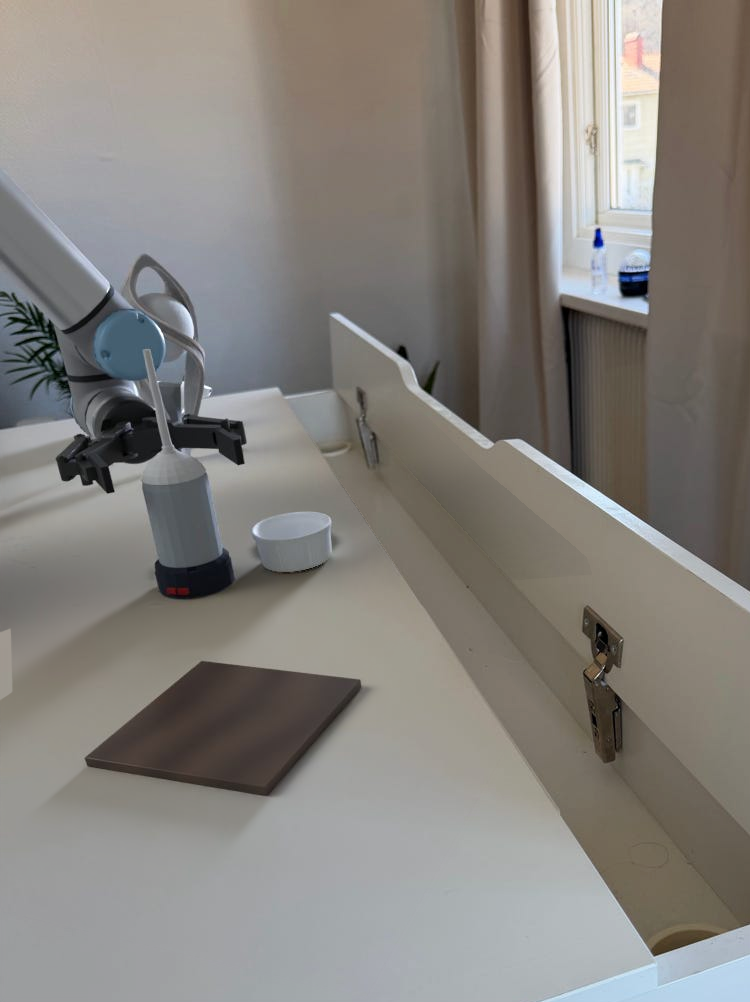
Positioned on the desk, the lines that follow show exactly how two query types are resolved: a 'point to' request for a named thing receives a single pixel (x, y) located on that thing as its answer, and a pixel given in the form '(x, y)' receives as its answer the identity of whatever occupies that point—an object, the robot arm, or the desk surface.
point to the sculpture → (170, 331)
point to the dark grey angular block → (176, 398)
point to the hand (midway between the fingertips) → (175, 465)
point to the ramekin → (293, 541)
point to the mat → (227, 726)
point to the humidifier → (182, 517)
